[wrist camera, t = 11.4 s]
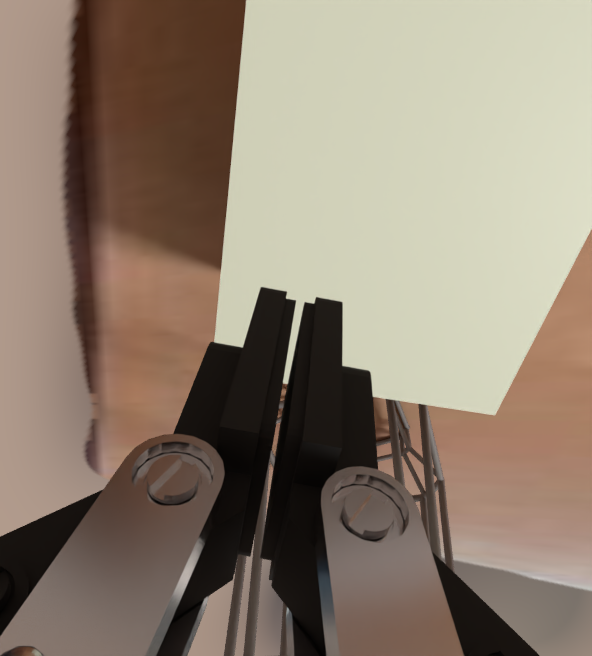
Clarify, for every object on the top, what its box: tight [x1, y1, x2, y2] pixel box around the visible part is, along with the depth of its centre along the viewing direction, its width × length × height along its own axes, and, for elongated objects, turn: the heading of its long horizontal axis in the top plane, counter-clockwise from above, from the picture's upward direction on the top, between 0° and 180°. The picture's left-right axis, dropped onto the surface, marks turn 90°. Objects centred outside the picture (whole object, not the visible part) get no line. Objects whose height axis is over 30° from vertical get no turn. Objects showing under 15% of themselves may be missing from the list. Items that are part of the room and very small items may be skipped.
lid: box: [214, 0, 592, 415], centre depth 22 cm, size 22×16×1 cm
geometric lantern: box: [224, 399, 455, 656], centre depth 29 cm, size 16×16×35 cm
